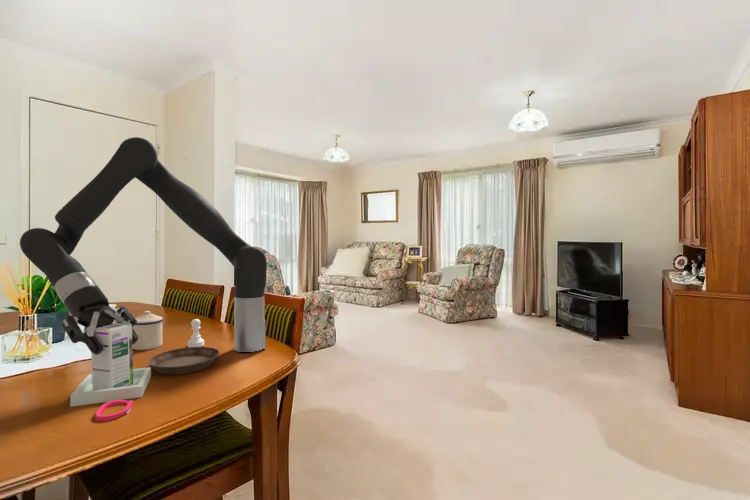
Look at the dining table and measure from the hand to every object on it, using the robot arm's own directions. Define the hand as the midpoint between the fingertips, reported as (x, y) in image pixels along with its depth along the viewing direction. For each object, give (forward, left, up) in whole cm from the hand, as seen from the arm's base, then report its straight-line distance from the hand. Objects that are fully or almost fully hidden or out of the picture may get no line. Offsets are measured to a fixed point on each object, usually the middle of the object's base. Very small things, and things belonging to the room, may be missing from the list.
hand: (118, 346), depth 86 cm
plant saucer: (-13, -14, -11) cm, 22 cm away
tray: (+1, -1, -10) cm, 10 cm away
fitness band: (-1, +12, -11) cm, 16 cm away
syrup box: (+1, -1, -10) cm, 10 cm away
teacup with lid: (+1, -38, -11) cm, 39 cm away
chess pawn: (-15, -33, -11) cm, 38 cm away
